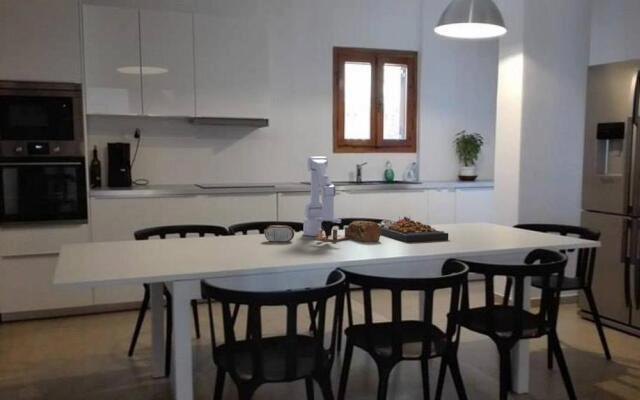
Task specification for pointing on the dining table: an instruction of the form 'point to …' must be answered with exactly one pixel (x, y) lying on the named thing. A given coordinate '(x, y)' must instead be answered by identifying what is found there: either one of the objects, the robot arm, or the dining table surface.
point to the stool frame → (336, 236)
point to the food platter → (410, 231)
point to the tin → (279, 233)
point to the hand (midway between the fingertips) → (327, 236)
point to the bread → (364, 231)
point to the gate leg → (321, 234)
